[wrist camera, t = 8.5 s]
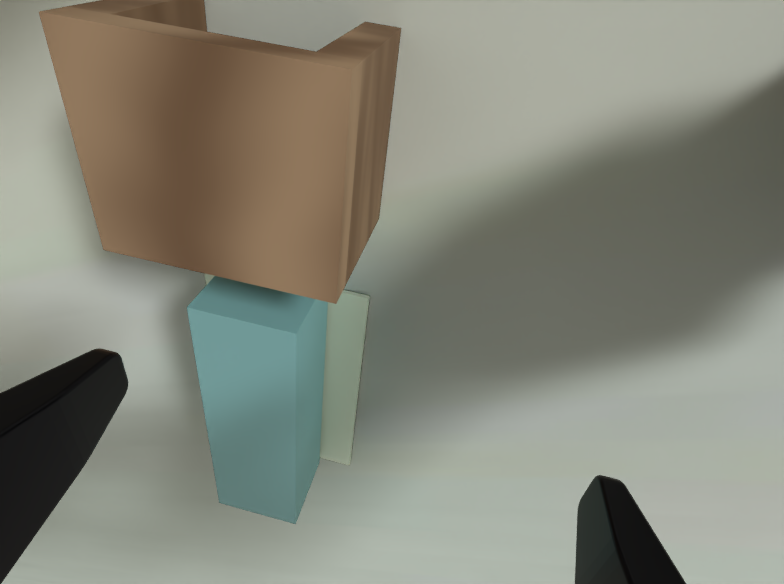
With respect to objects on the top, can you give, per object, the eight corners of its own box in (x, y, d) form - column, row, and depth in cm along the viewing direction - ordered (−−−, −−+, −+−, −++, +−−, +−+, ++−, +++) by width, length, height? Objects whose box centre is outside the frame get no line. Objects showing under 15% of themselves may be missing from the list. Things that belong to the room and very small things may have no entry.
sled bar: (329, 275, 22) (296, 333, 19) (319, 461, 31) (295, 524, 27) (234, 253, 22) (186, 307, 19) (250, 443, 31) (219, 502, 28)
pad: (369, 295, 23) (368, 298, 23) (350, 462, 31) (349, 465, 31) (204, 258, 24) (202, 260, 24) (227, 430, 32) (225, 432, 31)
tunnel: (401, 28, 16) (352, 69, 12) (378, 218, 20) (336, 303, 16) (170, -13, 17) (38, 11, 12) (194, 179, 21) (103, 249, 17)
